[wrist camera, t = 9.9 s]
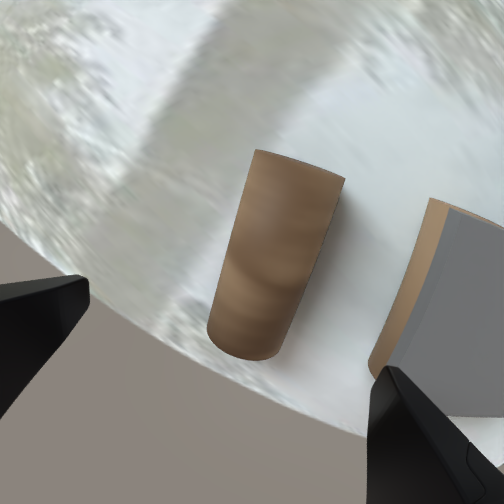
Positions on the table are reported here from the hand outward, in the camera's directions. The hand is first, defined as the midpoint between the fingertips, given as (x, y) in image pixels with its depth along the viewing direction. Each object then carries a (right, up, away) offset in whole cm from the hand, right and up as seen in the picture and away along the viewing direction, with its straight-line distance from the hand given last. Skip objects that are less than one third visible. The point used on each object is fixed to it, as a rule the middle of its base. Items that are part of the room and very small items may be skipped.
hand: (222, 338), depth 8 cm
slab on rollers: (+14, 0, +6) cm, 15 cm away
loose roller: (+2, +2, +6) cm, 7 cm away
